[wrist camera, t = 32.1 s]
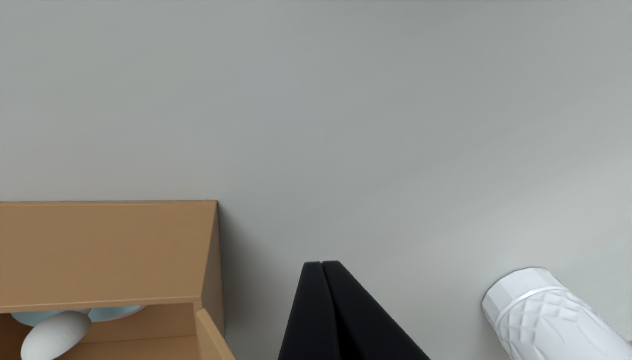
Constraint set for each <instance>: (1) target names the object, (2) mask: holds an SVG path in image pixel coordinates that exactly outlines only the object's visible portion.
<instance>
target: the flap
mask: <svg viewBox="0 0 632 360" xmlns="http://www.w3.org/2000/svg"><path fill="white" fill-rule="evenodd" d="M196 315H197V323H198V331H199V339H200V347H201V355H202V360H236V358H235V357H234V355H233V353H232V352H231V350H230V348H229V347H228V345H227V343H226V342H225V340H224V338H223V337H222V335H221V334H220V332H219V330H218V329H217V327H216V325H215V324H214V322H213V320H212V319H211V317H210V315H209V314H208V312H207V310H206V309H205V308H203V309H201V310H199V311H197V312H196Z"/></svg>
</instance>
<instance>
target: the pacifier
mask: <svg viewBox="0 0 632 360" xmlns="http://www.w3.org/2000/svg"><path fill="white" fill-rule="evenodd" d="M146 306H147V305H137V306H120V307H103V308H85V309H68V310H51V311H33V312H16V313H11V315H12V316H13V317H14V318H15V319H16V320H17V321H19V322H21V323H23V324H26V325H29V326H33V327H34V328H33V329H32V330H31V331H30V333H29V334H28V335H27V337H26V338H25V340H24V342H23V345H22V348H21V358H22V360H52V359H54V358H56V357H58V356H60V355H61V354H63V353H65V352H66V351H68V350H69V349H70V348H72V347H73V346H74V345H75V344H77V343H78V342H79V341H80V340H81V339H82V338H83V337H84V336H85V335H86V333H87V332H88V330H89V329H90V327H91V322H102V321H110V320H115V319H120V318H123V317H126V316H129V315H132V314H134V313H136V312H138V311H140V310H142V309H143V308H144V307H146Z"/></svg>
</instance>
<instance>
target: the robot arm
mask: <svg viewBox="0 0 632 360" xmlns="http://www.w3.org/2000/svg"><path fill="white" fill-rule="evenodd" d="M278 360H431V359H430V358H429V357H428V356H427V355H426V354H425V353H424V352H423V351H422V350H421V349H420V348H419V347H418V345H417V344H416V343H415V342H414V341H413V340H412V339H411V338H410V337H409V336H408V335H407V334H406V333H405V331H404V330H403V329H402V328H401V327H400V326H399V325H398V324H397V323H396V322H395V321H394V320H393V319H392V318H391V316H390V315H389V314H388V313H387V312H386V311H385V310H384V309H383V308H382V307H381V306H380V305H379V304H378V303H377V301H376V300H375V299H374V298H373V297H372V296H371V295H370V294H369V293H368V292H367V291H366V290H365V289H364V287H363V286H362V285H361V284H360V283H359V282H358V281H357V280H356V279H355V278H354V277H353V276H352V275H351V274H350V272H349V271H348V270H347V269H346V268H345V267H344V266H343V265H342V264H341V263H340V262H339V261H323V262H322V263H321V262H319V261H316V262H305V263H304V265H303V268H302V272H301V276H300V279H299V283H298V287H297V290H296V294H295V298H294V301H293V305H292V309H291V313H290V316H289V320H288V324H287V327H286V331H285V335H284V338H283V342H282V346H281V350H280V353H279V357H278Z"/></svg>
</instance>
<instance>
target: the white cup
mask: <svg viewBox="0 0 632 360" xmlns="http://www.w3.org/2000/svg"><path fill="white" fill-rule="evenodd" d="M482 307H483V311H484V314H485V316H486V318H487V319H488V321H489V323H490V324H491V326H492V327H493V329H494V331H495V332H496V334H497V336H498V338H499V340H500V342H501V344H502V346H503V348H504V350H505V351H506V352H507V354H508V356H509V358H510V360H632V345H631V344H630V343H629V342H628V341H627V340H625V339H624V338H623V337H622V336H621V335H620V334H619V333H618V332H617V331H616V330H615V329H614V328H613V327H612V326H611V325H610V324H608V323H607V322H606V321H605V320H603V319H602V318H601V317H600V316H599V315H598V314H597V313H596V312H595V311H594V310H593V309H592V308H590V307H589V306H588V305H587V304H585V303H584V302H583V301H582V300H581V299H580V298H579V297H578V296H577V295H575V294H573V293H571V291H570V290H568V289H567V288H566V287H565V286H564V285H562V284H561V283H560V282H559V281H558V280H557V279H556V278H555V277H554V276H553V275H552V274H551V273H549V272H548V271H547V270H546V269H541V268H532V267H531V268H526V269H522V270H518V271H514V272H512V273H511V274H509V275H507V276H505V277H503V278H502V279H500V280H498V281H497V282H496V283H495V284H494V285H493V286H492V287H491V288H490V289H489V290H488V291H487V293H486V295H485V297H484V299H483V302H482Z"/></svg>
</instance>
